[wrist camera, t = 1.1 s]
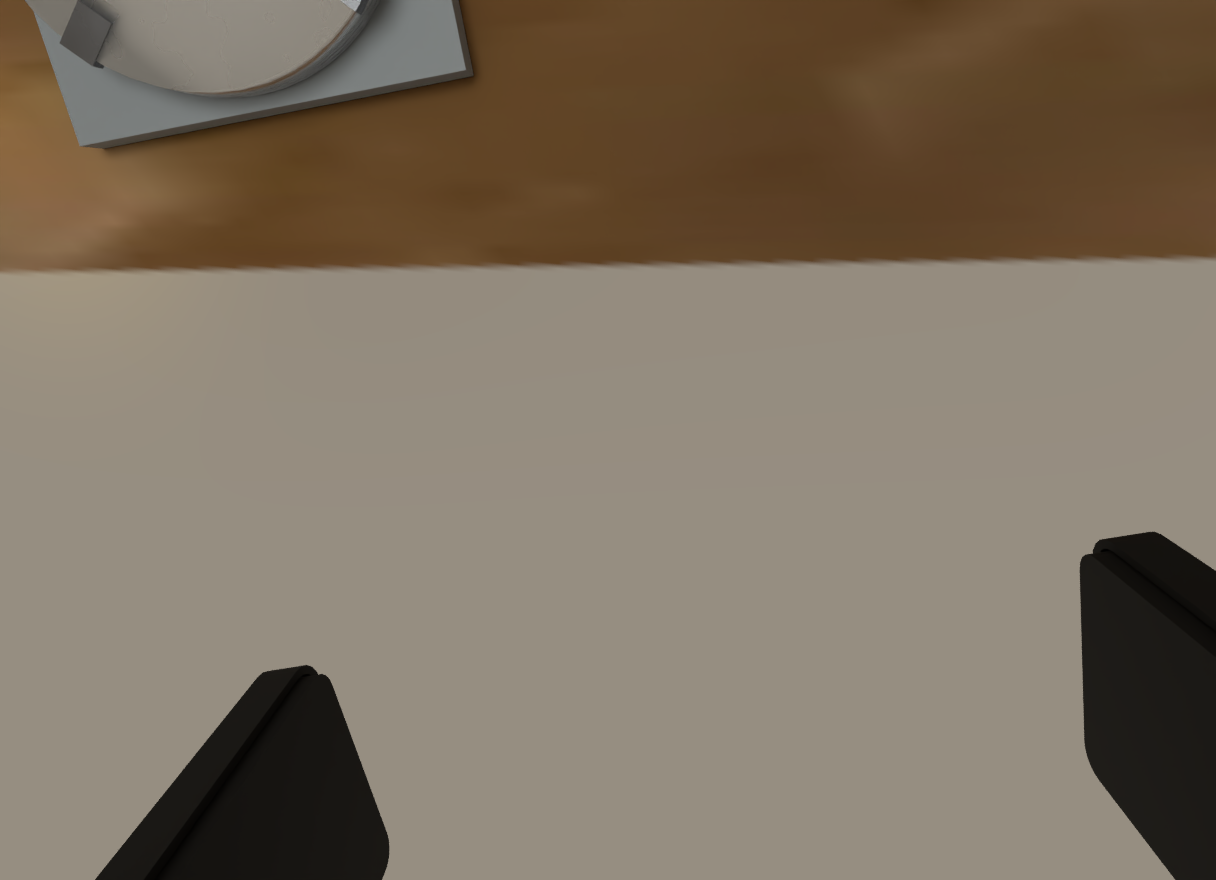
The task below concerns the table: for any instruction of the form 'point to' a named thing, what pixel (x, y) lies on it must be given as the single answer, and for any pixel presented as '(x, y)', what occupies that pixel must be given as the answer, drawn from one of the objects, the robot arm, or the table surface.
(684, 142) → the table surface
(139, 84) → the base plate
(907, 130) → the table surface
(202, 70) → the round tabbed tray
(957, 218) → the table surface
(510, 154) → the table surface
